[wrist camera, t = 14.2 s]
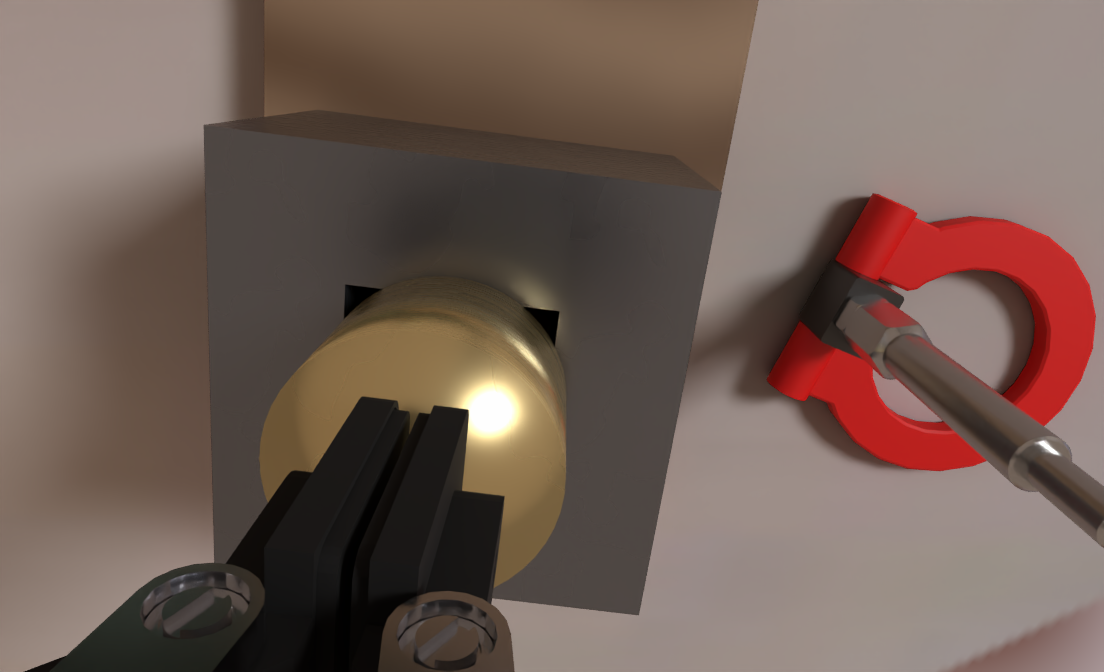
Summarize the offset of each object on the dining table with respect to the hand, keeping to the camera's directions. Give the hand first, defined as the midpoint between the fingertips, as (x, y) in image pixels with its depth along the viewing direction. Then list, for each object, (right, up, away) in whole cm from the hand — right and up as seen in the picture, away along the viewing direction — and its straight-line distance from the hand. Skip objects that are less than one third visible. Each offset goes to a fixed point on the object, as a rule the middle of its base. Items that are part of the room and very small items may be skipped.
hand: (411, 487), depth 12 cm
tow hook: (+15, +2, +13) cm, 20 cm away
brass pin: (0, +3, +10) cm, 10 cm away
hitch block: (0, +3, +11) cm, 11 cm away
